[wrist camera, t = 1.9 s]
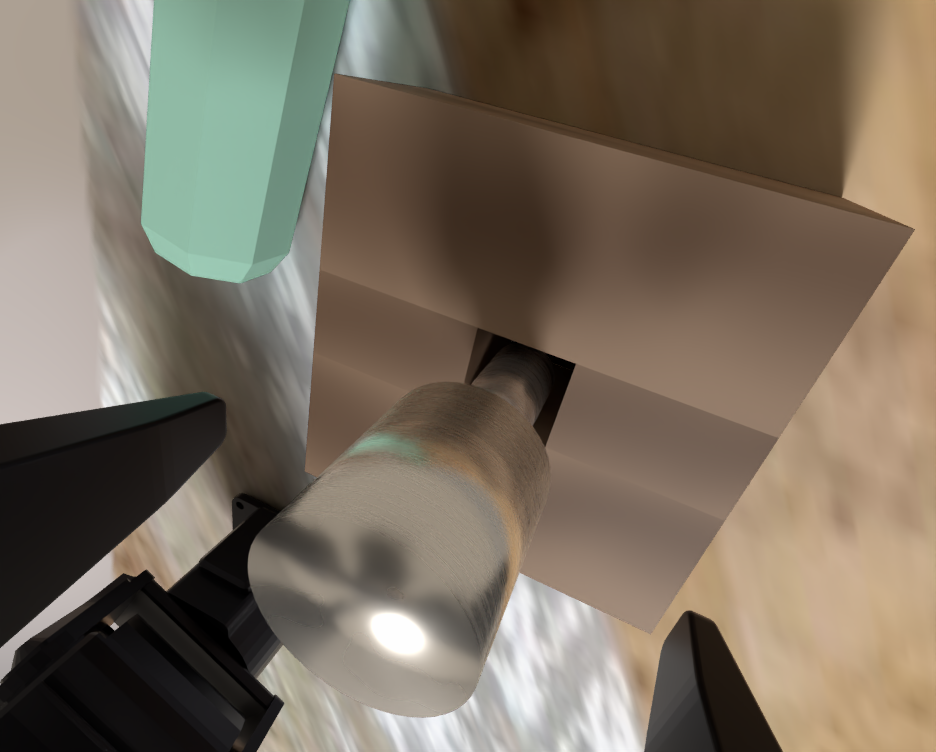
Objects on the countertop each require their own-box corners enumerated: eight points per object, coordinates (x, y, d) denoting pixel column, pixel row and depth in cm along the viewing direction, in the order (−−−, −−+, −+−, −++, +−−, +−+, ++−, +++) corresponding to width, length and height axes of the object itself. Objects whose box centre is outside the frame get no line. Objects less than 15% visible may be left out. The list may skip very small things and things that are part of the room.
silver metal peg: (564, 449, 15) (448, 754, 8) (451, 402, 15) (247, 639, 8) (608, 338, 13) (511, 599, 6) (477, 292, 14) (248, 471, 7)
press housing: (658, 523, 19) (650, 634, 15) (378, 405, 22) (304, 471, 18) (842, 197, 13) (914, 229, 9) (427, 88, 16) (334, 73, 12)
